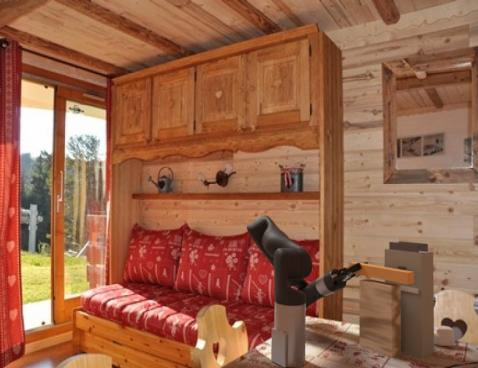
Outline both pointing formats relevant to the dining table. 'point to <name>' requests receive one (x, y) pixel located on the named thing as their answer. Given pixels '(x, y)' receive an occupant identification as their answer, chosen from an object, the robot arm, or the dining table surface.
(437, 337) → the power adapter
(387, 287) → the birch block
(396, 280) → the orange block
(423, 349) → the case
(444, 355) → the dining table surface
